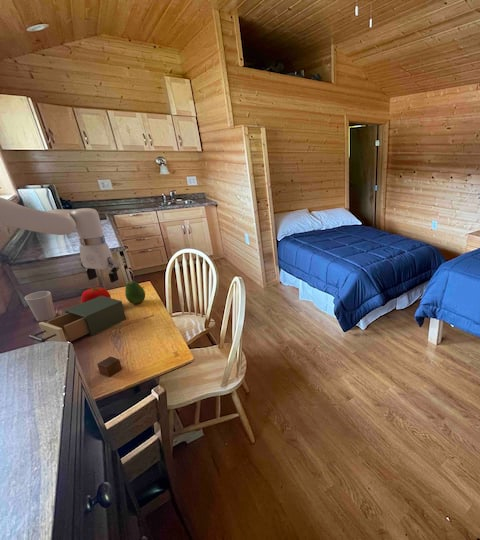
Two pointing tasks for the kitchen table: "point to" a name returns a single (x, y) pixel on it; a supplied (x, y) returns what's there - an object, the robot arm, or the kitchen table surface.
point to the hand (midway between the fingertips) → (103, 279)
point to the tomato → (94, 294)
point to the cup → (41, 305)
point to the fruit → (134, 292)
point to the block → (109, 366)
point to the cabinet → (99, 313)
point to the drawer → (62, 328)
